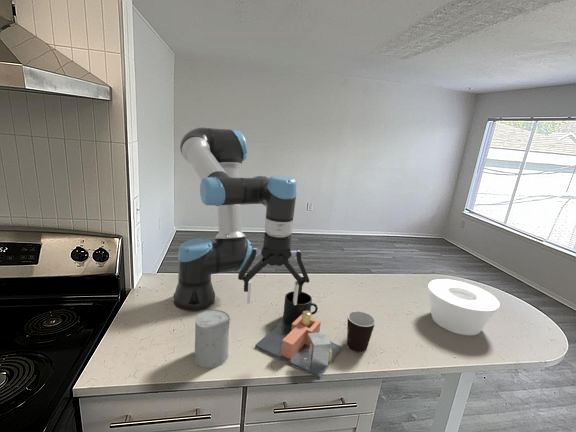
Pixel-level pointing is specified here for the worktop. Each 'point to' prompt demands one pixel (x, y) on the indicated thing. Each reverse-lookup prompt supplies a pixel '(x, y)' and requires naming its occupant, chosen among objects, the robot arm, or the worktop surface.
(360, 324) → the coffee mug
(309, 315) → the post
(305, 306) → the mug
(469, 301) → the bowl
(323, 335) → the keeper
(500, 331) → the worktop surface
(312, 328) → the link
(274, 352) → the dark grey rectangular mat
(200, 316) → the white marble cylinder
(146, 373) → the worktop surface
